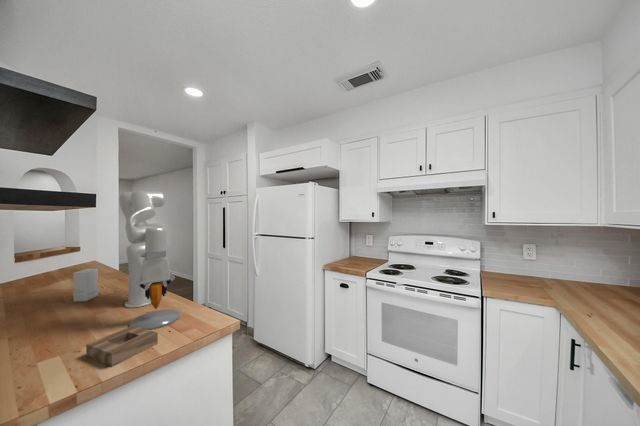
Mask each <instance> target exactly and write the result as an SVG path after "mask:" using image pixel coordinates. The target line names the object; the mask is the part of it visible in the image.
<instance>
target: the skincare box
mask: <svg viewBox="0 0 640 426" xmlns="http://www.w3.org/2000/svg"><path fill="white" fill-rule="evenodd" d="M98 285H99V269H98V268H85V269H81V270H79V271H75V272H73V302H87V301H89V300H92V299H94V298H96V297H98V296H99V286H98Z"/></svg>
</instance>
